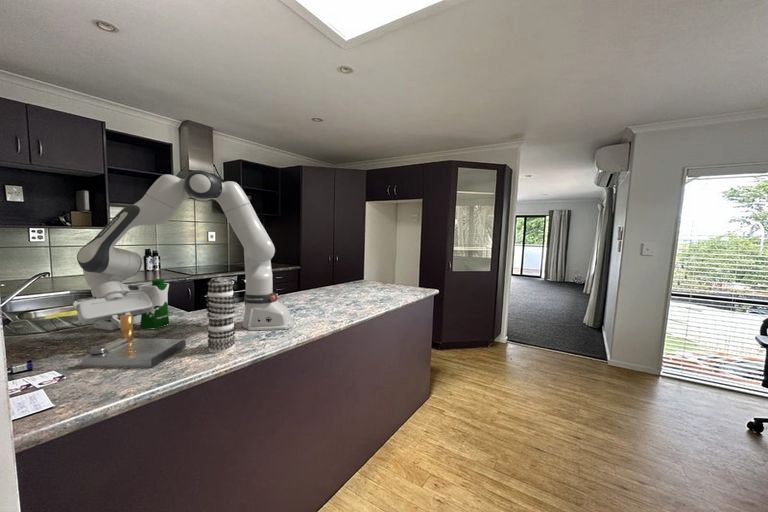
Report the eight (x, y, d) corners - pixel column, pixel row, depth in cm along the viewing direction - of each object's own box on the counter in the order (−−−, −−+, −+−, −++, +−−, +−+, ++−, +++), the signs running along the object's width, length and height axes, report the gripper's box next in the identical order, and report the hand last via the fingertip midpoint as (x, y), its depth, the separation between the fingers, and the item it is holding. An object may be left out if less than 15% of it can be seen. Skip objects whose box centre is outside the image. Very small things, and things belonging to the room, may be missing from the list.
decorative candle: (202, 353, 103) (200, 280, 101) (212, 343, 112) (211, 276, 110) (231, 352, 105) (230, 280, 103) (239, 342, 114) (238, 276, 112)
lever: (99, 355, 92) (97, 327, 91) (86, 355, 91) (85, 327, 91) (136, 338, 106) (135, 314, 105) (125, 338, 106) (124, 314, 105)
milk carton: (155, 330, 125) (153, 281, 124) (136, 328, 126) (134, 280, 125) (173, 323, 134) (171, 278, 132) (154, 322, 135) (153, 277, 133)
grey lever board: (185, 347, 108) (185, 338, 108) (152, 368, 92) (152, 357, 92) (125, 346, 107) (125, 337, 107) (82, 367, 91) (81, 356, 91)
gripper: (73, 294, 99) (87, 329, 96) (146, 285, 117) (160, 314, 113) (68, 306, 102) (82, 340, 98) (140, 295, 120) (154, 324, 116)
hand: (125, 326), depth 106 cm, fingers closed
